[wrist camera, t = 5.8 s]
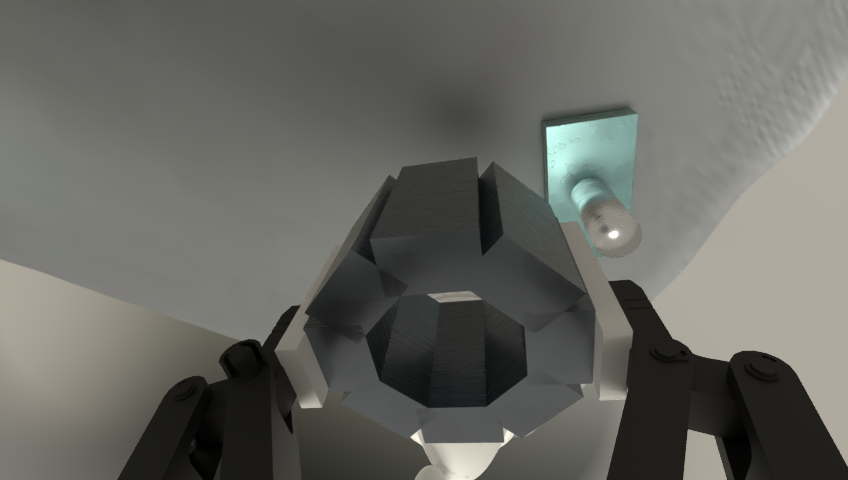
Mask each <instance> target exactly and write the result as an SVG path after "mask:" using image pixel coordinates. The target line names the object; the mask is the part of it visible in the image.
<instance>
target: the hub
mask: <svg viewBox="0 0 848 480" xmlns="http://www.w3.org/2000/svg"><path fill="white" fill-rule="evenodd" d="M462 291H471V292H472V293H474V294H475V295H477V296H478V297H480V298H481V299H483V300H470V301H456V302H442V303H440V302H438V301H437V300H435V299H433V298H432V297H430V296H429V295H427V294H435V293H449V292H462ZM595 312H596V310H595V307H594V305H593V303H592V300H591V298H590V295H589V293H588V291H587V288H586V286H585V283H584V281H583V279H582V276H581V274H580V271H579V269H578V267H577V264H576V262H575V259H574V257H573V255H572V252H571V250H570V247H569V245H568V243H567V240H566V238H565V235H564V233H563V231H562V228H561V226H560V223H559V221H558V219H557V217H555V215H554V212H553V210H552V208H551V205H550V204H549V203H548V202H546V201H545V200H544V199H542V198H541V197H540V196H539V195H537V194H536V193H535V192H533V191H532V190H531V189H529V188H528V187H527V186H525V185H524V184H523V183H521V182H520V181H519V180H517V179H516V178H515V177H513V176H512V175H511V174H509V173H508V172H507V171H505V170H504V169H503V168H501V167H500V166H499V165H497V164H496V163H495V162H492V163H491V165H490V166H489V167H488V168H487V169H486V171H485V172H484V173H483V174H482V175H481V176H480V178H479V174H478V165H477V157H475V158H467V159H460V160H452V161H445V162H437V163H430V164H422V165H415V166H407V167H402V170H401V172H400V174H399V176H398V178H397V180H396V179H394V178H393V177H391V176H390V175H389V176H388V177H387V179H386V180H385V182H384V183H383V185H382V186H381V187H380V189H379V190H378V192H377V193H376V194H375V196H374V197H373V199H372V200H371V202H370V203H369V204H368V206H367V207H366V209H365V210H364V211H363V213H362V214H361V216H360V217H359V219H358V220H357V221H356V223H355V224H354V226H353V227H352V229H351V231H350V233H349V235H348V236H347V238H346V240H345V242H344V243H343V245H342V247H341V249H340V251H339V252H338V254H337V256H336V258H335V259H334V261H333V263H332V265H331V266H330V268H329V270H328V272H327V274H326V275H325V277H324V279H323V281H322V282H321V284H320V286H319V288H318V290H317V291H316V293H315V295H314V297H313V298H312V300H311V302H310V304H309V305H308V307H307V309H306V311H305V314H307V315H308V316H309V318H308V320H307V322H306V324H305V325H304V327H303V330H304V332H306V335H307V337H308V339H309V342H310V344H311V347H312V349H313V352H314V354H315V356H316V359H317V361H318V364H319V366H320V369H321V371H322V373H323V376H324V378H325V381H326V383H327V386H328V388H329V390H328V391H329V392H341V391H344V394H343V397H342V400H341V404H343V405H344V406H346V407H348V408H350V409H352V410H354V411H356V412H358V413H360V414H361V415H363V416H365V417H367V418H369V419H371V420H373V421H374V422H376V423H378V424H380V425H382V426H384V427H386V428H388V429H389V430H391V431H393V432H395V433H397V434H399V435H401V436H403V437H404V438H406V439H408V438H410V437H411V436H412V435H414V434H415V433H416V432H417V431H418V430H420V429H421V431H422V435H423V439H424V442H425V443H504V430H503V428H505V429H506V430H508V431H510V432H511V433H513V434H515V435H517V436H518V437H520V438H522V437H524V436H525V435H527V434H528V433H530V432H531V431H533V430H534V429H536V428H537V427H539V426H540V425H542V424H543V423H545V422H546V421H548V420H549V419H551V418H552V417H554V416H555V415H557V414H558V413H560V412H561V411H563V410H564V409H566V408H567V407H569V406H570V405H572V404H573V403H575V402H577V401H578V400H580V399H581V398H582V397H584V396H583V393H582V389H581V386H580V384H589V383H592V382H593V359H594V336H595Z"/></svg>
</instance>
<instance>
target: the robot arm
mask: <svg viewBox="0 0 848 480" xmlns="http://www.w3.org/2000/svg"><path fill="white" fill-rule="evenodd" d="M560 226H561V228H562V231H563V233H564V235H565V238H566V240H567V243H568V245H569V247H570V250H571V252H572V255H573V257H574V259H575V262H576V264H577V267H578V269H579V271H580V274H581V276H582V279H583V281H584V283H585V286H586V288H587V291H588V293H589V295H590V298H591V300H592V303H593V305H594V307H595V310H596V312H595V336H594V359H593V382H594V385H595V388H596V391H597V394H598V397H599V400H626V401H625V405H624V410H623V414H622V418H621V422H620V426H619V430H618V435H617V438H616V443H615V447H614V451H613V455H612V460H611V463H610V468H609V472H608V476H607V480H683V473H684V462H685V452H686V441H687V431H688V429H690V430H694V431H698V432H702V433H706V434H710V435H714V436H715V439H716V443H717V446H718V450H719V453H720V457H721V460H722V463H723V467H724V470H725V473H726V477H727V480H848V466H847V465H846V463H845V461H844V460H843V458H842V456H841V454H840V452H839V450H838V448H837V447H836V445H835V443H834V441H833V439H832V437H831V436H830V434H829V432H828V430H827V429H826V427H825V425H824V423H823V422H822V420H821V418H820V416H819V414H818V412H817V410H816V409H815V407H814V405H813V403H812V401H811V399H810V398H809V396H808V394H807V392H806V390H805V389H804V387H803V385H802V383H801V382H800V380H799V378H798V376H797V374H796V373H795V372H794V370H793V369H792V368H791V367H790V366H789V365H788V364H786V363H785V362H783V361H782V360H780V359H779V358H777V357H774V356H772V355H769V354H767V353H762V352H757V351H741V352H739V353H736V354H734V355H733V357H732V358H731V360H730V362H727V361H721V360H715V359H710V358H705V357H701V356H698V355H695V354H693V353H692V352H691V351H690V350H689V348H688V347H687V346H685V345H684V344H682V343H681V342H679V341H677V340H674V339H672V337H671V335H670V334H669V332H668V330H667V329H666V327H665V326H664V324H663V322H662V321H661V319H660V318H659V316H658V314H657V313H656V311H655V309H653V306H652V304H651V303H650V301H649V300H648V298H647V296H646V295H645V293H644V291H643V290H642V288H641V287H639V286H638V285H636V284H635V283H634V282H632V281H631V280H619V281H607V279H606V277H605V275H604V273H603V271H602V269H601V267H600V265H599V263H598V261H597V259H596V257H595V255H594V253H593V251H592V249H591V247H590V245H589V243H588V241H587V239H586V237H585V235H584V233H583V231H582V229H581V227H580V225H579V223H578V221H572V222H562V223H560ZM341 247H342V245H336V246H335V248H334V249H333V251H332V253H331V255H330V256H329V258H328V260H327V261H326V263H325V265H324V267H323V268H322V270H321V272H320V273H319V275H318V277H317V279H316V280H315V282H314V284H313V285H312V287H311V289H310V291H309V292H308V294H307V296H306V297H305V299H304V301H303V303H302V304H301V305H298V306H292V307H290V308H289V309H288V310H287V311H286V312H285V313H284V314H282V316H281V317H280V319H279V321H278V322H277V324H276V326H275V327H274V329H273V330H272V333H271V334H270V335H269V337H268V338H267V340H266V341H265V343H264V345H263V346H261V344H260V342H259V341H257V340H253V339H248V340H244V341H240V342H238V343H236V344H234V345H232V346H231V347H229V348H228V349H227V350H226V351H225V352H224V353H223V354H222V355H221V357H220V360H219V363H220V365H221V366H222V368H223V370H224V372H225V373H226V375H227V377H228V379H226V380H223V381H219V382H216V383H213V384H209V385H208V383H207V382H206V380H205V378H204V377H201V376H192V377H189V378H186V379H184V380H182V381H180V382H179V383H177V384H176V385H175V386H173V387H172V388H171V389H170V390H169V391H168V392H167V394H166V395H165V396H164V398H163V400H162V402H161V403H160V405H159V407H158V409H157V410H156V412H155V414H154V416H153V417H152V419H151V421H150V423H149V424H148V426H147V428H146V430H145V432H144V433H143V435H142V437H141V439H140V440H139V442H138V444H137V446H136V447H135V449H134V451H133V453H132V455H131V456H130V458H129V460H128V462H127V463H126V465H125V467H124V469H123V471H122V472H121V474H120V476H119V478H118V479H117V480H301V470H300V460H299V450H298V439H297V429H296V419H295V414H294V411H293V409H292V405H293V403H294V401H295V399H296V397H297V399H298V401H299V403H300V405H301V407H302V408H320V407H321V408H322V406H323V404H324V401H325V398H326V396H327V393H328V390H329V388H328V386H327V383H326V381H325V378H324V376H323V373H322V371H321V369H320V366H319V364H318V361H317V359H316V356H315V354H314V352H313V349H312V347H311V344H310V342H309V339H308V337H307V335H306V332H304V330H303V327H304V325H305V324H306V322H307V320H308V318H309V316H308V315H307V314H305V311H306V309H307V307H308V305H309V304H310V302H311V300H312V298H313V297H314V295H315V293H316V291H317V290H318V288H319V286H320V284H321V282H322V281H323V279H324V277H325V275H326V274H327V272H328V270H329V268H330V266H331V265H332V263H333V261H334V259H335V258H336V256H337V254H338V252H339V251H340V249H341ZM627 388H628V393H627ZM626 395H627V397H626Z"/></svg>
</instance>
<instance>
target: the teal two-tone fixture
mask: <svg viewBox="0 0 848 480" xmlns="http://www.w3.org/2000/svg"><path fill="white" fill-rule="evenodd" d="M637 122H638V113H636V112H635V111H633V110H631V109H630V108H624V109H618V110H611V111H605V112H598V113H592V114H586V115H579V116H573V117H566V118H560V119H553V120H547V121H542V128H543V155H544V181H545V201H546V202H548V203H549V204H550V205H551V208H552V210H553V212H554V215H555V217H557V219H558V221H559V223H562V222H572V221H578V223H579V225H580V227H581V229H582V231H583V233H584V235H585V237H586V239H587V241H588V243H589V245H590V247H591V249H592V251H593V253H594V255H595V257H601V256H606V257H610V258H617V257H622V256H625V255H627V254H629V253H631V252H632V251H634V250H635V249H636V248H637V247H638V245H639V244H640V242H641V239H642V230H641V227H640V226H639V224H638V223H637V222H636V221H635V219H634V218H633V217H632V216H631V214H630V213H631V200H632V187H633V174H634V161H635V148H636V135H637Z"/></svg>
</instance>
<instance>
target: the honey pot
mask: <svg viewBox="0 0 848 480" xmlns="http://www.w3.org/2000/svg"><path fill="white" fill-rule="evenodd" d="M427 295H429V296H430V297H432V298H433V299H435V300H437V301H438V302H440V303H442V302H456V301H470V300H483V299H481V298H480V297H478V296H477V295H475V294H474V293H472V292H471V291H462V292H449V293H435V294H427ZM503 430H504V443H425V442H424V439H423V435H422V431H421V429H420V430H418V431H417V432H416V433H415V434H414V435H412V436H411V438H412V439H413V440H415V441H416V442H418V443H419V444H421V445H422V446H423V448H424V450H425V452H426V454H427V456H428V458H429V460H430V461H431V463H432V464H433V465H430V466H426V467H424V468H423V469H422V470H421V471H420V472H419V473H418V475H417V476H416V478H415V480H446V479H447V480H474V479H476V478H477V477H478V476H479V475H481V473H482V472H484V471H485V469H486V468H487V467H488V465H489V464H490V462H491V461H492V459H493V458H494V456H495V454H496V453H497V451H498V448H500V447H502V446H503V445H504V444H506V443H507V442H508V441H509V440H510V439H511V438H512V437H513V435H514V434H513V433H511V432H510V431H508V430H506V429H505V428H503Z"/></svg>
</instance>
